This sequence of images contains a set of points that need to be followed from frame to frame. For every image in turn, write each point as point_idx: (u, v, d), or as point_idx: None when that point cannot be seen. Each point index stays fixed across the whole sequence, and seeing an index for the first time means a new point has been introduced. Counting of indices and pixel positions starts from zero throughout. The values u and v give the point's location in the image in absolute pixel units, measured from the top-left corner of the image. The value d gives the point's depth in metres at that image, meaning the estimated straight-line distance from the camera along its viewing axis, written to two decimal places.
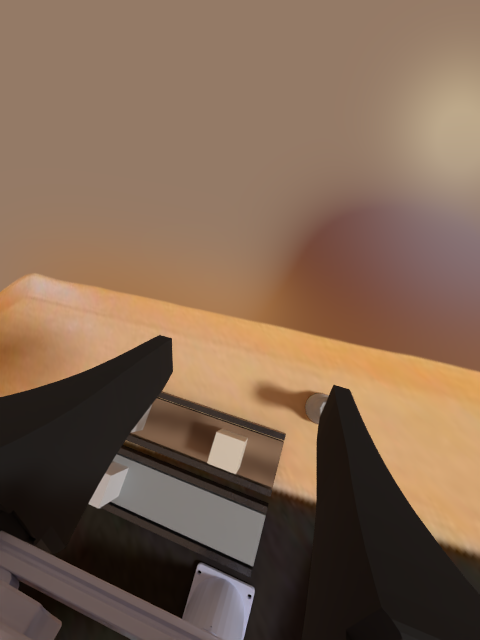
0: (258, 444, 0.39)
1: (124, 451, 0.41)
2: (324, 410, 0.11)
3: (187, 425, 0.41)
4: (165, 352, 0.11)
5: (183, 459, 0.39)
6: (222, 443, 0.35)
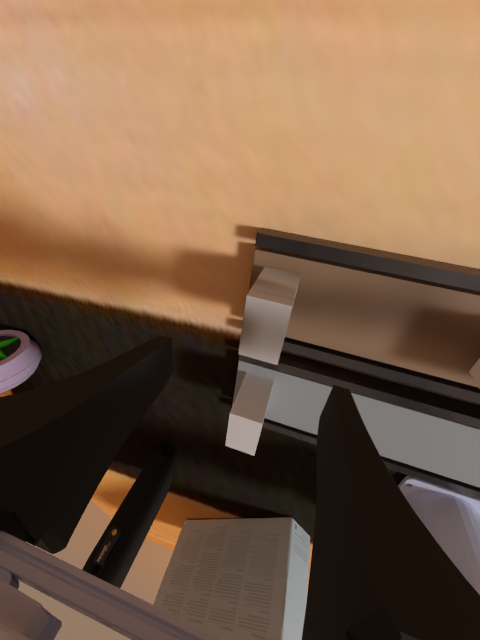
0: None
1: None
2: (324, 410, 0.11)
3: (401, 315, 0.17)
4: (165, 352, 0.11)
5: (390, 374, 0.19)
6: None
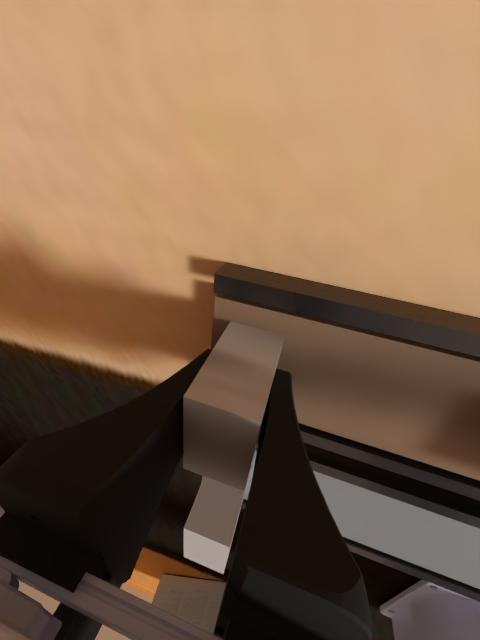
0: None
1: None
2: None
3: (439, 402, 0.11)
4: None
5: (417, 474, 0.13)
6: None
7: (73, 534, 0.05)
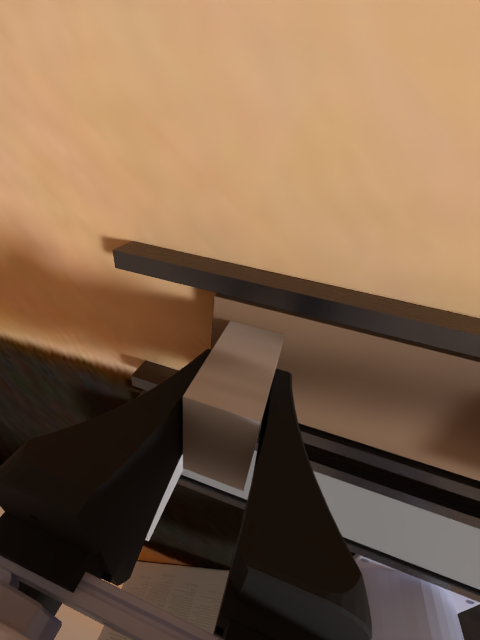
0: None
1: None
2: None
3: (439, 402, 0.11)
4: None
5: (319, 443, 0.14)
6: None
7: (73, 534, 0.05)
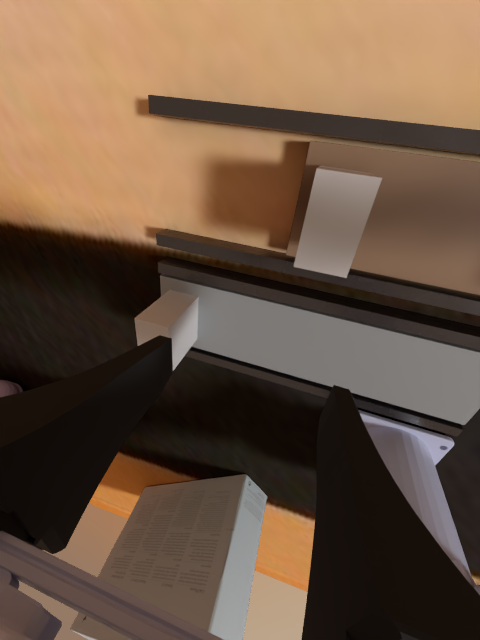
0: None
1: (178, 270, 0.19)
2: (324, 410, 0.11)
3: None
4: (165, 352, 0.11)
5: (312, 273, 0.17)
6: None
7: None
